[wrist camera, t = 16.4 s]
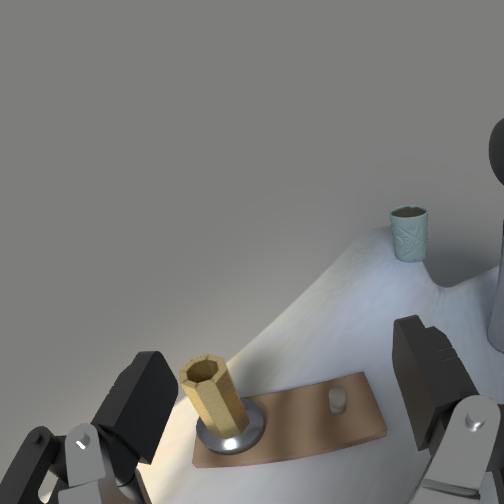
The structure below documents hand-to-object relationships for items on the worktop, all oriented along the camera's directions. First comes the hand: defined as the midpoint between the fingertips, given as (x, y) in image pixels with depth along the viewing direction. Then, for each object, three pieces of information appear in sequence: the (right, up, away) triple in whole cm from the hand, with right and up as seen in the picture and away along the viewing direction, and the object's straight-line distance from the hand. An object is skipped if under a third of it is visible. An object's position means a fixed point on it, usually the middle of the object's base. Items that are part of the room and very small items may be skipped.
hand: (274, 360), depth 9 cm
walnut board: (+4, -19, +24) cm, 31 cm away
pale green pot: (+40, +2, +58) cm, 71 cm away
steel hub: (-3, -20, +24) cm, 31 cm away
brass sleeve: (-4, -18, +24) cm, 30 cm away
